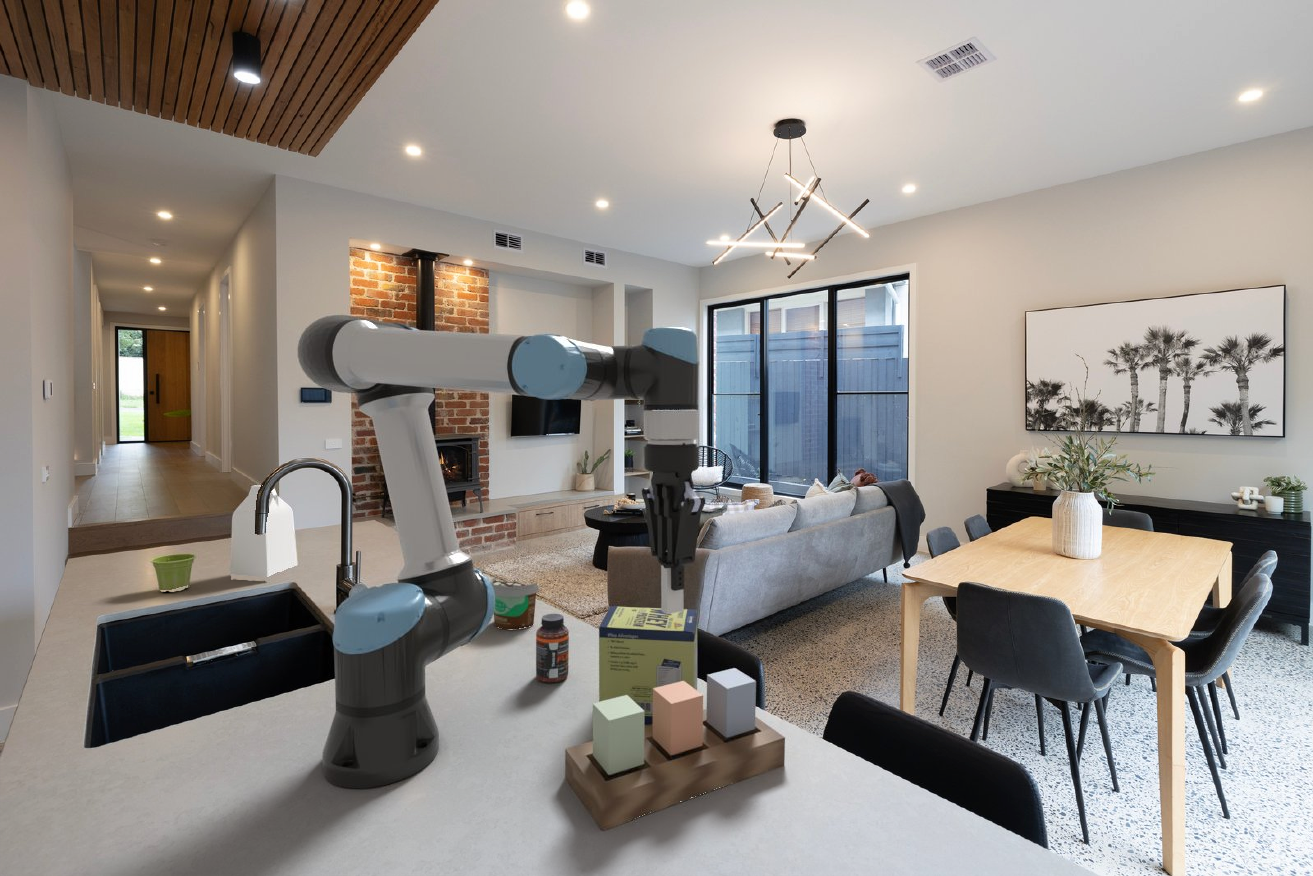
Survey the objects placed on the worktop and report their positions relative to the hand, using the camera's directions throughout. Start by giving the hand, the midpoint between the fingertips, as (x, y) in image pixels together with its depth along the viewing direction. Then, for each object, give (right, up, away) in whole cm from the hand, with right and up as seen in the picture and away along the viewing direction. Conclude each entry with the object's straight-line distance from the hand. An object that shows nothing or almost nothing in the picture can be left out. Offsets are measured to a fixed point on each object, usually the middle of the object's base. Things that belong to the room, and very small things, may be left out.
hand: (672, 610), depth 86 cm
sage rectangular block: (-7, -18, -6) cm, 20 cm away
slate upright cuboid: (+8, -17, +3) cm, 20 cm away
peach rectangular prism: (+1, -18, -1) cm, 18 cm away
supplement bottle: (-21, -20, +28) cm, 41 cm away
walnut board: (+1, -22, -1) cm, 22 cm away
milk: (-115, -16, +92) cm, 148 cm away
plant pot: (-130, -16, +78) cm, 152 cm away
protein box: (-3, -21, +16) cm, 27 cm away
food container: (-36, -19, +53) cm, 67 cm away
